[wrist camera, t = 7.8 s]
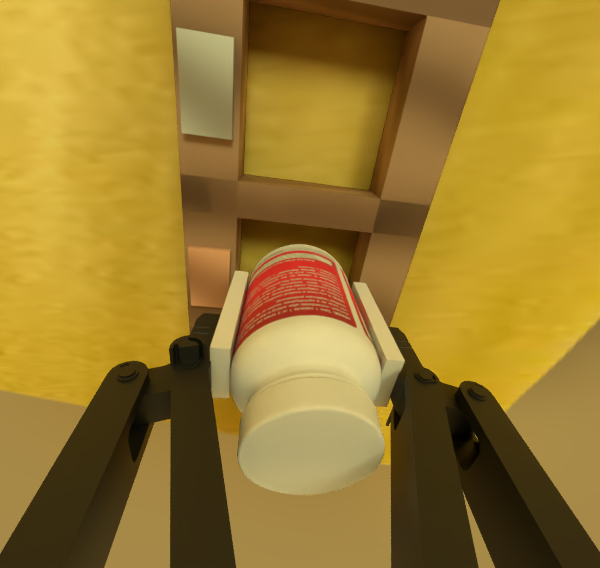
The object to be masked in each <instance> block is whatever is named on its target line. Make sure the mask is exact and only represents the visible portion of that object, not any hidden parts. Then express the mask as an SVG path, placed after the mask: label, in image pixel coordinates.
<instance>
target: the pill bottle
mask: <svg viewBox="0 0 600 568" xmlns="http://www.w3.org/2000/svg"><path fill="white" fill-rule="evenodd" d="M380 385H381V367H380V363H379V359H378V356H377V353H376V350H375V347H374V345H373V343H372V340H371V338H370V335H369V333H368V331H367V328H366V326H365V323H364V320H363V318H362V316H361V313H360V311H359V308H358V306H357V303H356V301H355V298H354V295H353V293H352V290H351V288H350V285H349V282H348V280H347V277H346V275H345V273H344V271H343V269H342V267H341V266H340V264H339V263H338V262H337V261H336V259H335V258H334V257H332V256H331V255H330V254H329V253H327V252H326V251H324V250H322V249H320V248H317V247H314V246H311V245H306V244H293V245H287V246H283V247H280V248H277V249H275V250H273V251H271V252H270V253H268V254H267V255H266V256H264V257H263V258H262V259H261V260H260V261H259V262H258V264H257V265H256V267H255V268H254V270H253V272H252V274H251V277H250V280H249V284H248V289H247V293H246V298H245V303H244V307H243V311H242V316H241V321H240V326H239V331H238V335H237V340H236V345H235V349H234V354H233V358H232V363H231V370H230V389H231V394H232V397H233V400H234V402H235V404H236V406H237V408H238V409H239V411H240V412H241V413H242V417H241V421H240V430H239V442H238V453H237V456H238V463H239V466H240V468H241V470H242V472H243V473H244V474H245V476H246V477H247V478H248V479H249V480H251V481H253V482H254V483H255V484H257V485H259V486H261V487H263V488H265V489H268V490H271V491H274V492H278V493H283V494H291V495H317V494H324V493H329V492H333V491H337V490H341V489H344V488H347V487H349V486H352V485H354V484H356V483H358V482H359V481H361V480H363V479H364V478H366V477H367V476H369V475H370V474H371V473H372V472H373V471H374V470H375V469H376V468H377V467H378V465H379V464H380V462H381V460H382V458H383V455H384V449H385V443H384V438H383V434H382V430H381V427H380V423H379V419H378V414H377V410H376V407H375V405H374V402H375V400H376V398H377V396H378V393H379V390H380Z"/></svg>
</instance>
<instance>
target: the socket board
mask: <svg viewBox="0 0 600 568" xmlns="http://www.w3.org/2000/svg"><path fill="white" fill-rule="evenodd" d="M250 2H255V3H260V4H265V5H271V6H276V7H281V8H287V9H292V10H297V11H303V12H308V13H313V14H318V15H324V16H329V17H334V18H340V19H345V20H350V21H356V22H361V23H366V24H372V25H377V26H382V27H387V28H393V29H398V30H403V31H407V33H406V37H405V41H404V45H403V50H402V54H401V58H400V62H399V67H398V71H397V75H396V79H395V84H394V88H393V92H392V96H391V101H390V105H389V109H388V113H387V118H386V122H385V126H384V130H383V135H382V139H381V143H380V147H379V152H378V156H377V160H376V164H375V169H374V173H373V177H372V181H371V186H370V190H363V189H355V188H347V187H339V186H331V185H324V184H316V183H308V182H300V181H292V180H285V179H277V178H269V177H261V176H254V175H246V174H244V148H245V121H246V94H247V67H248V40H249V13H250ZM499 2H500V0H170V6H171V23H172V40H173V56H174V73H175V90H176V107H177V124H178V141H179V158H180V175H181V191H182V208H183V225H184V242H185V259H186V276H187V293H188V310H189V326H190V333H191V331H192V329H193V327H194V324H195V322H196V320H197V318H198V317H200V316H201V315H202V314H203V313H212V314H221V312H222V309H223V306H224V303H225V300H226V297H227V294H228V291H229V288H230V285H231V282H232V279H233V276H234V273H235V271H240V256H241V229H242V218H245V219H254V220H263V221H271V222H280V223H289V224H298V225H307V226H316V227H324V228H333V229H342V230H351V231H360V232H359V237H358V241H357V245H356V249H355V254H354V258H353V262H352V266H351V271H350V275H349V279H348V282H349V285H350V288H351V290H352V285H353V282H360V283H366V285H367V287H368V289H369V291H370V293H371V295H372V297H373V299H374V301H375V303H376V305H377V307H378V309H379V311H380V313H381V315H382V316H383V318H384V320H385V322H386V324H387V326H388V327H390V324H391V321H392V318H393V315H394V312H395V309H396V306H397V303H398V300H399V297H400V294H401V291H402V288H403V285H404V282H405V279H406V276H407V273H408V270H409V268H410V265H411V262H412V259H413V256H414V253H415V250H416V247H417V244H418V241H419V238H420V235H421V232H422V229H423V226H424V223H425V220H426V217H427V214H428V211H429V209H430V206H431V203H432V200H433V197H434V194H435V191H436V188H437V185H438V182H439V179H440V176H441V173H442V170H443V167H444V164H445V161H446V158H447V155H448V152H449V150H450V147H451V144H452V141H453V138H454V135H455V132H456V129H457V126H458V123H459V120H460V117H461V114H462V111H463V108H464V105H465V102H466V99H467V96H468V94H469V91H470V88H471V85H472V82H473V79H474V76H475V73H476V70H477V67H478V64H479V61H480V58H481V55H482V52H483V49H484V46H485V43H486V40H487V37H488V35H489V32H490V29H491V26H492V23H493V20H494V17H495V14H496V11H497V8H498V5H499Z"/></svg>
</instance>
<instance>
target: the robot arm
mask: <svg viewBox="0 0 600 568" xmlns="http://www.w3.org/2000/svg"><path fill="white" fill-rule="evenodd" d="M248 275H249V272H245V271H235V273H234V276H233V279H232V282H231V285H230V288H229V291H228V294H227V297H226V300H225V303H224V306H223V309H222V312H221V314H212V313H203V314H202V315H201V316H200V317H198V318H197V320H196V322H195V324H194V327H193V329H192V331H191V333H190V335H187V336H183V337H180V338H178V339H176V340H174V341H173V342H172V343H171V345H170V348H169V353H170V362H171V364H168V365H166V366H162V367H157V368H151V369H148V368H147V366H146V365H145V364H144V363H142V362H138V361H129V362H124V363H122V364H119V365H117V366H116V367H114V368H112V369H111V371H110V372H109V373H108V374H107V376H106V377H105V379H104V381H103V382H102V384H101V386H100V387H99V389H98V391H97V392H96V394H95V396H94V397H93V399H92V401H91V402H90V404H89V406H88V407H87V409H86V411H85V413H84V414H83V416H82V418H81V419H80V421H79V423H78V424H77V426H76V428H75V429H74V431H73V433H72V434H71V436H70V438H69V439H68V441H67V443H66V445H65V446H64V448H63V449H62V451H61V453H60V455H59V456H58V458H57V460H56V461H55V463H54V465H53V466H52V468H51V470H50V471H49V473H48V475H47V476H46V478H45V480H44V481H43V483H42V485H41V487H40V488H39V490H38V491H37V493H36V495H35V496H34V498H33V500H32V502H31V503H30V505H29V507H28V508H27V510H26V512H25V513H24V515H23V517H22V518H21V520H20V522H19V523H18V525H17V527H16V528H15V530H14V532H13V533H12V535H11V537H10V538H9V540H8V542H7V544H6V545H5V547H4V549H3V550H2V552H1V554H0V568H104V566H105V563H106V560H107V558H108V555H109V552H110V548H111V546H112V543H113V540H114V537H115V534H116V531H117V528H118V526H119V523H120V520H121V517H122V514H123V511H124V509H125V505H126V502H127V500H128V497H129V494H130V491H131V488H132V485H133V483H134V479H135V477H136V474H137V471H138V468H139V465H140V462H141V459H142V457H143V453H144V451H145V448H146V445H147V442H148V439H149V436H150V433H151V430H152V428H153V425H154V422H157V421H162V420H166V419H170V418H171V490H170V492H171V493H170V494H171V495H170V496H171V497H170V498H171V499H170V513H171V514H170V568H236V564H235V557H234V549H233V542H232V535H231V529H230V521H229V513H228V506H227V499H226V492H225V485H224V478H223V471H222V463H221V456H220V449H219V442H218V435H217V427H216V420H215V413H214V406H213V398H226V399H229V397H230V392H231V389H230V370H231V363H232V358H233V354H234V349H235V345H236V340H237V335H238V331H239V326H240V321H241V316H242V311H243V307H244V303H245V298H246V293H247V289H248ZM352 293H353V295H354V298H355V301H356V303H357V306H358V308H359V311H360V313H361V316H362V318H363V320H364V323H365V326H366V328H367V331H368V333H369V335H370V338H371V340H372V343H373V345H374V347H375V350H376V353H377V356H378V359H379V363H380V367H381V385H380V390H379V393H378V396H377V398H376V400H375V402H374V405H375V406H382V407H387V405H388V402H389V400H390V398H391V400H392V403H393V408H392V410H391V413H390V415H389V418H388V420H387V423H386V426H389V424H390V422H391V568H478V563H477V558H476V553H475V548H474V544H473V539H472V534H471V529H470V524H469V520H468V515H467V510H466V505H465V500H464V495H463V492H464V494H465V497H466V499H467V501H468V504H469V506H470V509H471V511H472V513H473V516H474V518H475V521H476V523H477V525H478V528H479V530H480V532H481V534H482V537H483V540H484V542H485V544H486V547H487V549H488V551H489V554H490V556H491V558H492V561H493V563H494V566H495V568H600V552H599V550H598V549H597V547H596V546H595V544H594V543H593V541H592V540H591V538H590V537H589V535H588V534H587V533H586V531H585V530H584V528H583V527H582V525H581V524H580V522H579V521H578V519H577V518H576V517H575V515H574V514H573V512H572V511H571V509H570V508H569V506H568V505H567V503H566V502H565V500H564V499H563V498H562V496H561V494H560V493H559V491H558V490H557V489H556V487H555V486H554V484H553V483H552V481H551V480H550V478H549V477H548V475H547V474H546V472H545V471H544V470H543V468H542V466H541V465H540V464H539V462H538V461H537V459H536V458H535V456H534V455H533V453H532V452H531V450H530V449H529V447H528V446H527V444H526V443H525V442H524V440H523V439H522V437H521V436H520V434H519V433H518V432H517V430H516V428H515V427H514V426H513V424H512V422H511V421H510V420H509V418H508V417H507V415H506V414H505V412H504V411H503V409H502V408H501V406H500V405H499V403H498V402H497V400H496V399H495V397H494V396H493V395H492V394H491V392H490V391H489V390H488V389H486V388H485V387H483V386H482V385H480V384H478V383H476V382H472V381H464V382H462V383H461V384H460V386H459V388H457V387H454V386H451V385H448V384H444V383H442V382H440V381H439V379H438V377H437V376H436V375H435V374H434V373H433V372H432V371H430V370H429V369H426V368H424V367H423V366H422V364H421V363H420V361H419V359H418V357H417V356H416V354H415V352H414V350H413V348H412V347H411V345H410V343H408V340H407V338H406V336H405V334H404V333H403V332H401V331H400V330H399V329H398V328H395V327H388V326H387V324H386V322H385V320H384V318H383V316H382V315H381V313H380V311H379V309H378V307H377V305H376V303H375V301H374V299H373V297H372V295H371V293H370V291H369V289H368V287H367V285H366V283H360V282H353V285H352ZM475 435H476V436H477V438H478V440H479V441H478V440H477V438H476V436H475ZM462 490H463V491H462Z"/></svg>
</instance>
